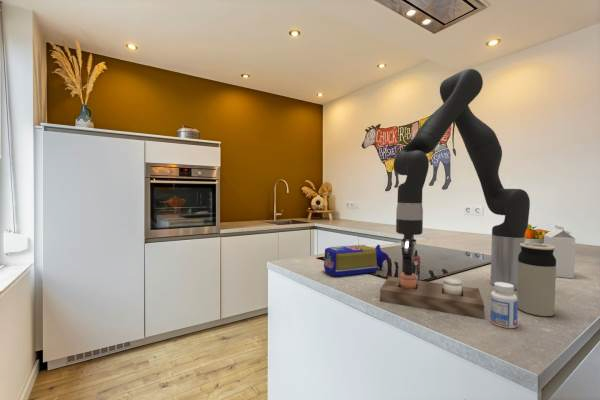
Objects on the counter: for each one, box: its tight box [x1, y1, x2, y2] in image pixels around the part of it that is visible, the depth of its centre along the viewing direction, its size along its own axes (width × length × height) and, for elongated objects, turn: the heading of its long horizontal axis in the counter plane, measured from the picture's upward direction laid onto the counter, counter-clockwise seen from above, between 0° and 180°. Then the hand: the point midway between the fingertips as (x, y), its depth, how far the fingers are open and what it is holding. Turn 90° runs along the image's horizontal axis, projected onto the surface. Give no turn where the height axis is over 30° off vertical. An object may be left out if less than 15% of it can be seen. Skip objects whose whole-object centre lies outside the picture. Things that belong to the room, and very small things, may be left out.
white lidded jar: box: [443, 276, 463, 296], centre depth 84 cm, size 5×5×5 cm
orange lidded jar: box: [399, 272, 416, 290], centre depth 89 cm, size 5×5×5 cm
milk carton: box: [543, 225, 576, 279], centre depth 112 cm, size 7×7×19 cm
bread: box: [323, 244, 389, 278], centre depth 116 cm, size 10×25×10 cm, turn 111°
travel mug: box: [516, 242, 557, 317], centre depth 79 cm, size 8×8×18 cm
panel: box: [379, 276, 485, 319], centre depth 86 cm, size 26×14×4 cm, turn 63°
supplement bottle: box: [401, 248, 421, 281], centre depth 105 cm, size 6×6×11 cm
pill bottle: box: [490, 282, 518, 329], centre depth 71 cm, size 6×5×10 cm
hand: (408, 274), depth 89 cm, fingers closed
